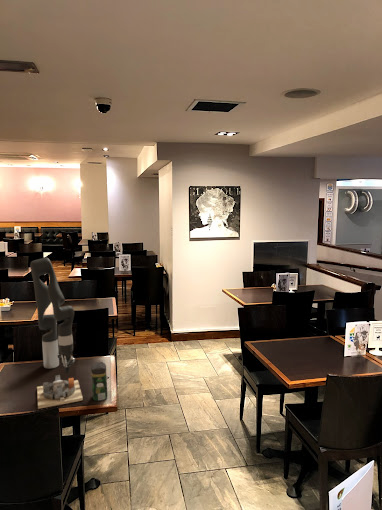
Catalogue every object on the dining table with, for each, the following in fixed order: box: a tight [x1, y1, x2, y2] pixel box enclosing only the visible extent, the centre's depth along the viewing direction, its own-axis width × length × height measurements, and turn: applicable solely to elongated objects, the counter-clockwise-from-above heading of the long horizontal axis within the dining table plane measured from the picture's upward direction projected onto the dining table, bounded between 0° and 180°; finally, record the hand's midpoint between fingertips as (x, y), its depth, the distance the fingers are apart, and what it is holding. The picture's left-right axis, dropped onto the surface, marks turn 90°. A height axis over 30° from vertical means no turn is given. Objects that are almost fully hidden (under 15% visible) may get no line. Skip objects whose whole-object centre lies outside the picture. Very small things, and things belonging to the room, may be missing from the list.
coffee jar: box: [90, 361, 108, 402], centre depth 214 cm, size 10×8×19 cm
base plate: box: [36, 379, 84, 410], centre depth 218 cm, size 22×22×7 cm
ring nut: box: [42, 374, 75, 400], centre depth 217 cm, size 16×16×6 cm
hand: (67, 372), depth 222 cm, fingers closed
